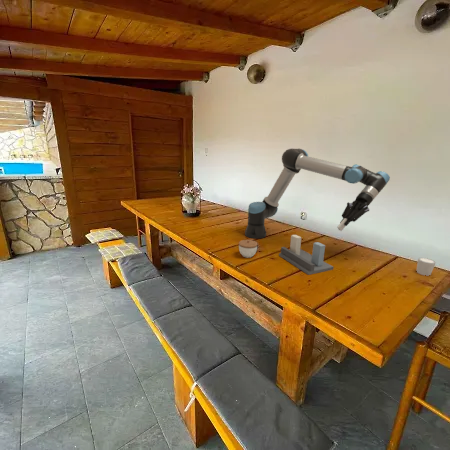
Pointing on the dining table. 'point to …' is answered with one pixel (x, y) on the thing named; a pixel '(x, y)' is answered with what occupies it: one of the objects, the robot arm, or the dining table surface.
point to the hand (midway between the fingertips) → (339, 229)
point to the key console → (303, 261)
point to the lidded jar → (248, 248)
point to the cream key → (295, 244)
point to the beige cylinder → (425, 266)
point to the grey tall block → (318, 254)
